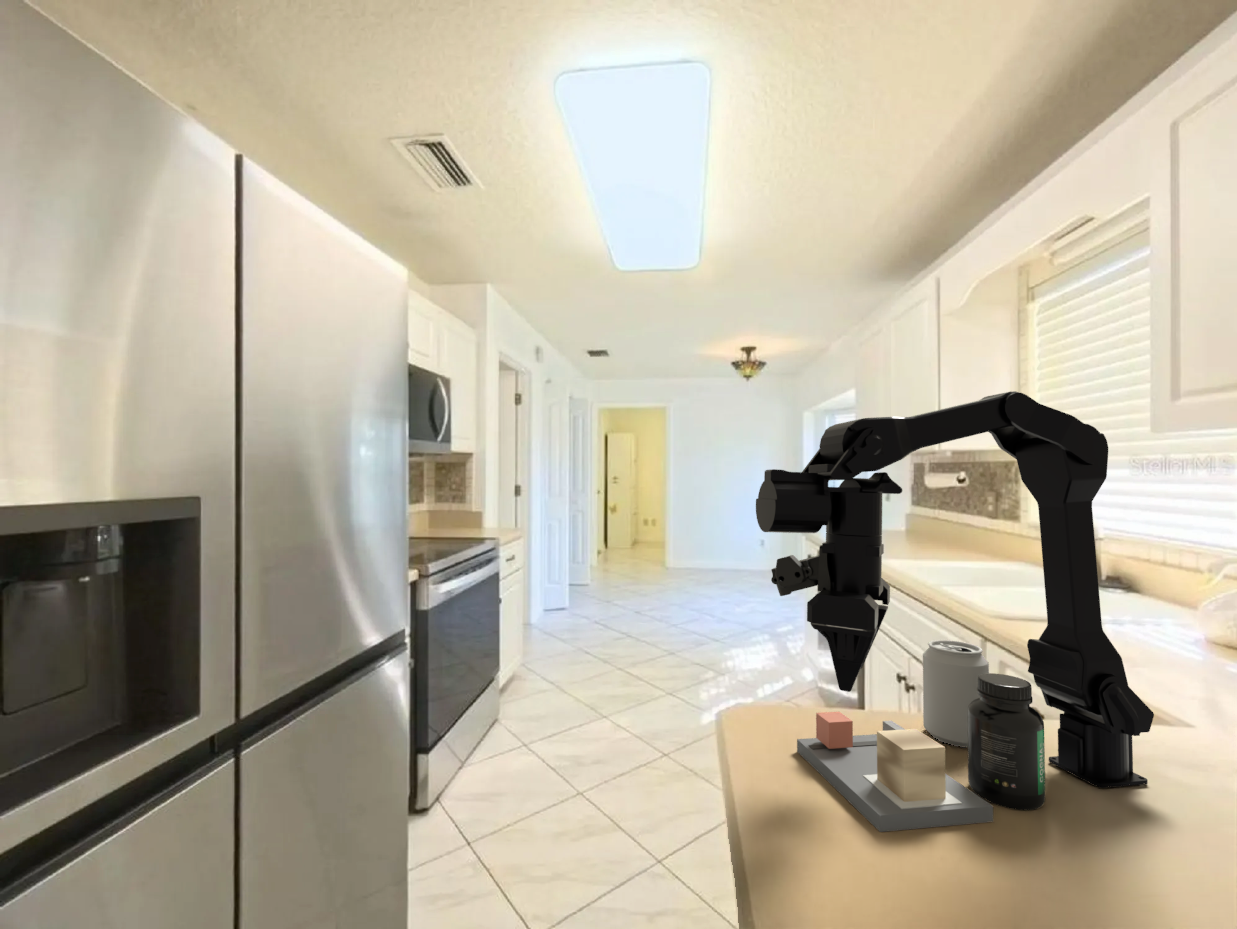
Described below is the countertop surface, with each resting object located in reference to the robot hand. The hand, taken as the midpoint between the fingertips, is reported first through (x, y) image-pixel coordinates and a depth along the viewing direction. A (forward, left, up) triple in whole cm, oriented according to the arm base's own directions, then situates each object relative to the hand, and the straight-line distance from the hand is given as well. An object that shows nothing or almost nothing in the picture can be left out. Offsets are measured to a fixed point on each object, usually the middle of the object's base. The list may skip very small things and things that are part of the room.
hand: (851, 678), depth 64 cm
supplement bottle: (-16, +4, -12) cm, 20 cm away
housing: (-4, +4, -10) cm, 12 cm away
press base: (-4, 0, -12) cm, 12 cm away
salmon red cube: (-2, -6, -10) cm, 12 cm away
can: (-21, -10, -12) cm, 26 cm away
